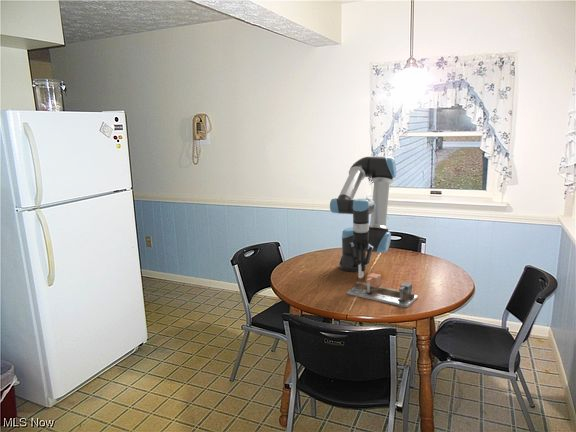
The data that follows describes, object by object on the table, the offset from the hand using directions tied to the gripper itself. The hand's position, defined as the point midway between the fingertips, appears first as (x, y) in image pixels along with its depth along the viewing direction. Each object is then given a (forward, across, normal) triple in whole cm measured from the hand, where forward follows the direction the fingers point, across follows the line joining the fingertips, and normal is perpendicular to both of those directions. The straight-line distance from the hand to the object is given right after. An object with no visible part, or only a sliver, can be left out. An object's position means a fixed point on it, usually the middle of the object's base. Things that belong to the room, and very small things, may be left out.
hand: (361, 277), depth 210 cm
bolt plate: (+6, +12, -3) cm, 14 cm away
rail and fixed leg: (+5, +12, -3) cm, 14 cm away
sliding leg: (+4, +7, -3) cm, 9 cm away
